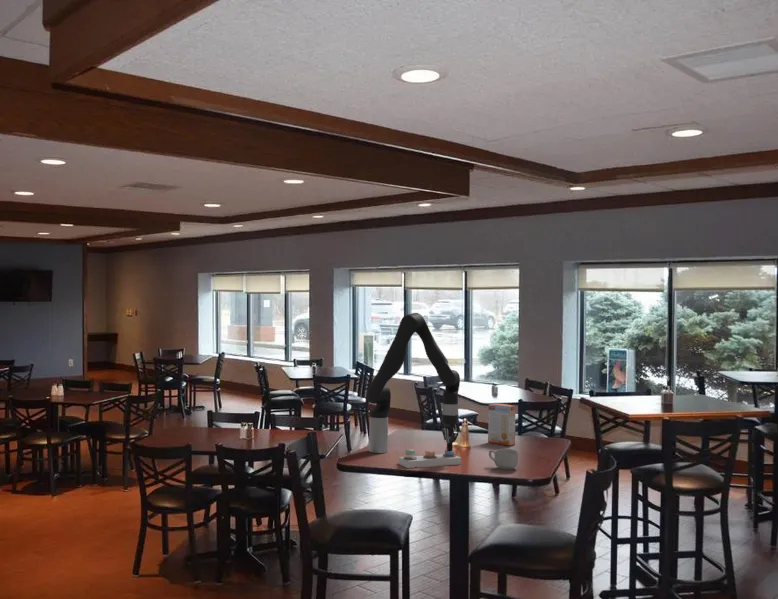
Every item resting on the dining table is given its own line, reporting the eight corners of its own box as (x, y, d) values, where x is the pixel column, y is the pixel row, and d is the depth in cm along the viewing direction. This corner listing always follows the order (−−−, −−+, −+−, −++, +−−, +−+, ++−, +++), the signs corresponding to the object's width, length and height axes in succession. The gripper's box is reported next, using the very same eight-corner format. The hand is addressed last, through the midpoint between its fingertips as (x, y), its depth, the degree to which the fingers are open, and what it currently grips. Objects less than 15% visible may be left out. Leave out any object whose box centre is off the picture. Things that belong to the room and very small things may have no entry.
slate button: (443, 454, 349) (443, 450, 349) (451, 453, 351) (451, 449, 351) (447, 456, 345) (447, 451, 345) (455, 455, 347) (456, 451, 347)
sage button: (403, 453, 342) (403, 449, 342) (412, 453, 343) (412, 448, 343) (407, 455, 338) (407, 451, 338) (416, 455, 339) (416, 450, 339)
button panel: (398, 463, 344) (398, 456, 344) (451, 460, 354) (451, 452, 354) (407, 468, 334) (407, 460, 334) (461, 464, 345) (461, 456, 345)
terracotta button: (423, 455, 345) (423, 451, 345) (432, 454, 347) (432, 450, 347) (427, 457, 341) (427, 452, 341) (436, 456, 343) (436, 452, 343)
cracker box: (515, 444, 396) (516, 405, 396) (508, 446, 392) (509, 406, 392) (494, 441, 406) (495, 402, 406) (487, 442, 402) (488, 403, 402)
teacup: (523, 469, 337) (523, 451, 337) (508, 472, 330) (508, 454, 330) (498, 464, 347) (498, 446, 347) (483, 467, 339) (483, 449, 340)
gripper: (436, 411, 353) (436, 448, 353) (449, 415, 341) (448, 453, 340) (450, 411, 356) (450, 447, 355) (464, 415, 343) (463, 452, 343)
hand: (449, 450), depth 348 cm, fingers closed
